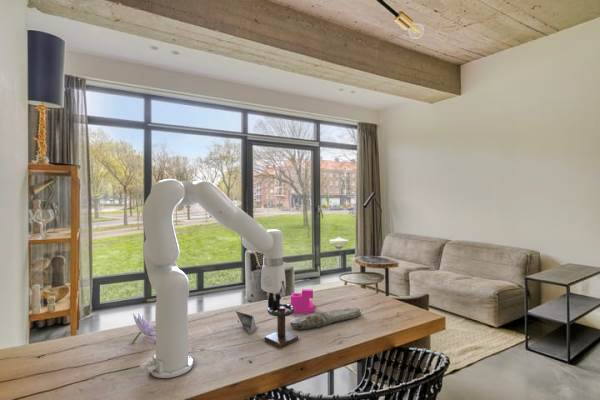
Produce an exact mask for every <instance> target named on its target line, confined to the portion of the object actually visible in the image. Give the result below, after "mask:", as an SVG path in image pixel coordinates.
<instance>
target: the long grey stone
mask: <svg viewBox="0 0 600 400" xmlns="http://www.w3.org/2000/svg"><path fill="white" fill-rule="evenodd" d="M361 315H362V312H361V309H360V308H358V307H344V308H339V309H332V310H328V311H320V310H319V311H313V313H304V315H300V316H297V317H295V318H293V319H291V320H290V322H289V326H290V327H291V328H293V329H297V330H299V329H300V330H303V329H314V328H316V329H319V328H320V327H323V326H326V325H330V324H332V323H335V322H341V321H345V320H352V319H355V318H358V317H359V316H361Z"/></svg>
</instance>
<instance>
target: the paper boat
mask: <svg viewBox="0 0 600 400" xmlns="http://www.w3.org/2000/svg"><path fill="white" fill-rule="evenodd" d="M235 313H236V315H237V317H238V319H237V321H236V322H237V323H238V324H239V323H240V324H241V325H242V327H243V329H245V330H246V332H248V333H249V334H250V335H251V334H252V333H253V332H254V331H255V330H256V329H257V325H256V321H255V318H254V315H251V314H247V313H244V312H240V311H235Z"/></svg>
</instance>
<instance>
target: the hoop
mask: <svg viewBox="0 0 600 400" xmlns="http://www.w3.org/2000/svg"><path fill="white" fill-rule="evenodd" d="M280 306H284V307H285V309H287V310H286V311H285V312H277V311H273V305H272V306H270V307H269V308H268V307H267V311H266V312H267V313H268V315H270V316H272V317H284V316H285V317H289V316H292V315H293V314H295V313H294V312H295V308H294V307H293V306H291V304H289V303H280Z"/></svg>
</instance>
